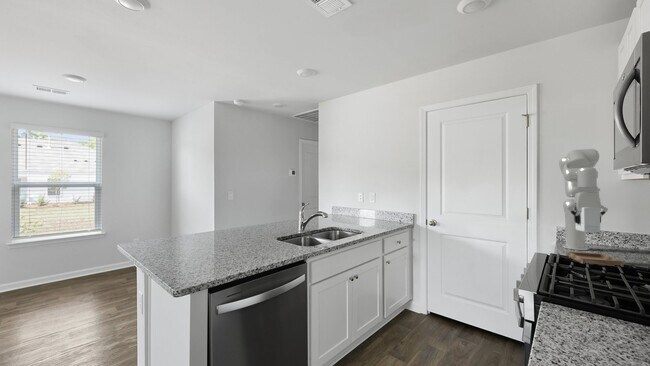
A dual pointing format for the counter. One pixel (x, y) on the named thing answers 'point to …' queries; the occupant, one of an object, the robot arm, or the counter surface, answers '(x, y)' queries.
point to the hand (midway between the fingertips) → (587, 223)
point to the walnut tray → (594, 259)
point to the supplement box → (589, 220)
